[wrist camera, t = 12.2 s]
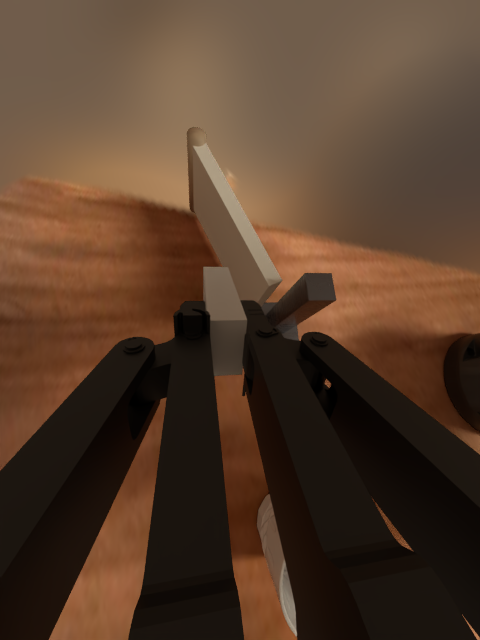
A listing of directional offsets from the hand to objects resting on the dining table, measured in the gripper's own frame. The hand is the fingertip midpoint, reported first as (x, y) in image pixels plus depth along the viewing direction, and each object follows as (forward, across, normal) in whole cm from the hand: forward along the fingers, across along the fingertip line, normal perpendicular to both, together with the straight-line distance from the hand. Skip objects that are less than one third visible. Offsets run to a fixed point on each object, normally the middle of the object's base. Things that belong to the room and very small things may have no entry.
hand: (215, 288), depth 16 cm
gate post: (+14, +9, -11) cm, 20 cm away
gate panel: (+20, +2, -3) cm, 21 cm away
